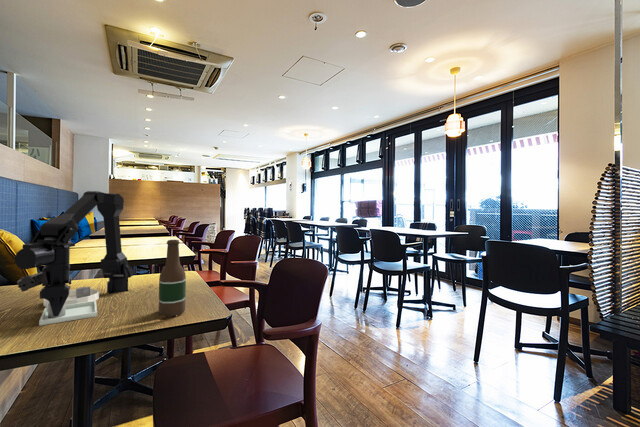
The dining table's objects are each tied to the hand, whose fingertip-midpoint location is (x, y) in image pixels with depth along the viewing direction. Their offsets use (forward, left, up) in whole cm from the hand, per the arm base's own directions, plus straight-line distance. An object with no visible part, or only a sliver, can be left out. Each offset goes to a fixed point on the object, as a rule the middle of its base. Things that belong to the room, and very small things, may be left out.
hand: (56, 313), depth 91 cm
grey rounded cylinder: (-6, -16, -1) cm, 18 cm away
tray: (-3, 0, -1) cm, 3 cm away
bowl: (-3, -16, -1) cm, 17 cm away
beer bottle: (-29, +15, -2) cm, 33 cm away
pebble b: (0, 0, -1) cm, 1 cm away
